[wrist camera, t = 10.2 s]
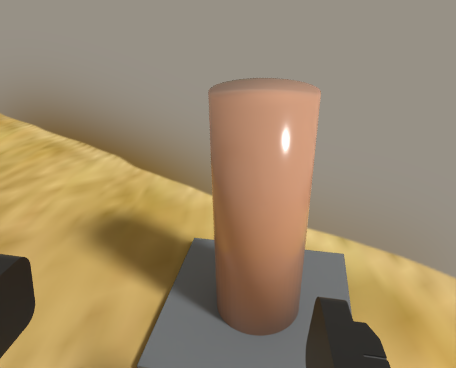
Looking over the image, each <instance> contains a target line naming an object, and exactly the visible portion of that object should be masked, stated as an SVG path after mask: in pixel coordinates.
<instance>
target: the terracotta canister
mask: <svg viewBox="0 0 456 368" xmlns="http://www.w3.org/2000/svg"><path fill="white" fill-rule="evenodd" d="M208 95H209V120H210V144H211V169H212V195H213V220H214V245H215V270H216V294H217V309H218V312H219V314H220V316H221V317H222V319H223V320H224V321H225V322H226V323H227V324H228V325H229V326H230V327H232V328H234V329H235V330H237V331H240V332H242V333H245V334H249V335H257V336H264V335H271V334H275V333H278V332H280V331H282V330H284V329H286V328H287V327H289V326H290V325H291V324H292V323H293V322H294V320H295V319H296V317H297V315H298V312H299V303H300V293H301V283H302V274H303V264H304V254H305V244H306V234H307V224H308V214H309V205H310V195H311V184H312V174H313V165H314V155H315V146H316V136H317V135H316V134H317V126H318V116H319V106H320V96H321V91H320V90H319V89H318V88H317V87H315V86H313V85H311V84H308V83H304V82H300V81H294V80H288V79H276V78H250V79H239V80H232V81H227V82H223V83H220V84H217V85H215V86H213V87H211V88H210V90H209V92H208Z"/></svg>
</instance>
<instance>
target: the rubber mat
mask: <svg viewBox="0 0 456 368" xmlns="http://www.w3.org/2000/svg"><path fill="white" fill-rule="evenodd" d="M317 297H325V298H333V299H340V300H346V301H347V303H348V306H349V309H350V312H351V306H350V298H349V291H348V283H347V275H346V267H345V259H344V254H339V253H330V252H320V251H311V250H305V254H304V264H303V274H302V283H301V293H300V303H299V312H298V315H297V317H296V319H295V320H294V322H293V323H292V324H291V325H290V326H289V327H287V328H286V329H284V330H282V331H280V332H278V333H275V334H271V335H264V336H257V335H249V334H245V333H242V332H240V331H237V330H235V329H234V328H232V327H230V326H229V325H228V324H227V323H226V322H225V321H224V320H223V319H222V317H221V316H220V314H219V312H218V309H217V294H216V270H215V245H214V240H209V239H199V238H194V240H193V242H192V244H191V246H190V249H189V251H188V253H187V255H186V258H185V260H184V262H183V264H182V267H181V269H180V271H179V273H178V275H177V278H176V280H175V282H174V284H173V287H172V289H171V291H170V293H169V296H168V298H167V300H166V302H165V304H164V307H163V309H162V311H161V313H160V316H159V318H158V320H157V322H156V324H155V327H154V329H153V331H152V333H151V336H150V338H149V340H148V342H147V345H146V347H145V349H144V351H143V353H142V356H141V358H140V360H139V362H138V365H137V368H306V362H305V353H306V342H307V337H308V332H309V328H310V323H311V318H312V314H313V309H314V304H315V300H316V298H317ZM351 316H352V314H351Z"/></svg>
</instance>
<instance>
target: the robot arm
mask: <svg viewBox="0 0 456 368" xmlns="http://www.w3.org/2000/svg"><path fill="white" fill-rule="evenodd" d="M34 309H35V297H34V289H33V282H32V274H31V266H30V262H29V260H28V259H27V258H26V257H19V256H11V255H4V254H0V358H1V357H2V356H3V354H4V353H5V352H6V351H7V350H8V348H9V347H10V346H11V345H12V344H13V342H14V341H15V340H16V339H17V337H18V336H19V335H20V334H21V333H22V331H23V330H24V329H25V328H26V327H27V325H28V324H29V322H30V320H31V318H32V316H33V313H34ZM386 358H387V357H386V354H385V352H384V349H383V346H382V344H381V341H380V339H379V338H378V336H377V335H376V334H375V333H374V332H373V331H372V329H371V328H370V327H369V326H368V325H367V324H366V323H362V322H355V321H353V319H352V316H351V312H350V309H349V306H348V303H347V301H346V300H340V299H333V298H325V297H317V298H316V300H315V304H314V309H313V314H312V318H311V323H310V328H309V332H308V337H307V342H306V353H305V362H306V368H391V367H390V365H389V362H388V361H387V360H386Z"/></svg>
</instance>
